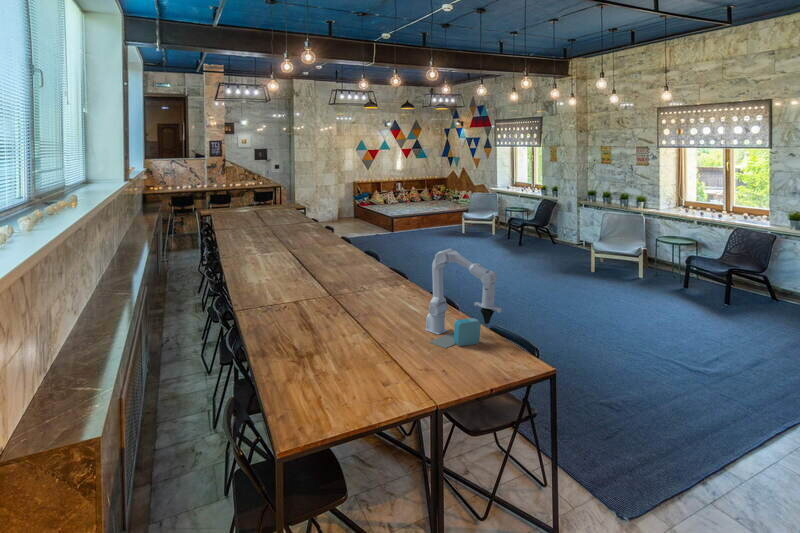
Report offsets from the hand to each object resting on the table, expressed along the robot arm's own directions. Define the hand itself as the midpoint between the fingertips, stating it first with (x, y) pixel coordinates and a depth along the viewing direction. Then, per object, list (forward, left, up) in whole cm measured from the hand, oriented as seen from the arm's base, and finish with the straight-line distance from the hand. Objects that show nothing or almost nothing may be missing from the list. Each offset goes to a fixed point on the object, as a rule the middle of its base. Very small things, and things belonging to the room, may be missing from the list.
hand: (486, 323), depth 243 cm
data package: (-6, -7, -10) cm, 14 cm away
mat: (-15, -7, -10) cm, 20 cm away
